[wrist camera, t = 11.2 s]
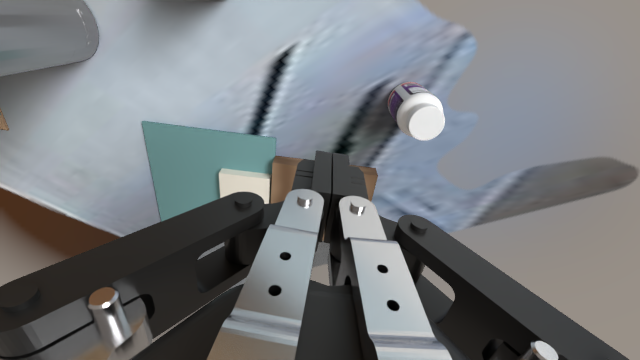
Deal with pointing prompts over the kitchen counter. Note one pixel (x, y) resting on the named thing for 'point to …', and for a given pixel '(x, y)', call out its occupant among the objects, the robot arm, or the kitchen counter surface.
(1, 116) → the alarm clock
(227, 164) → the mat
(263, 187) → the tile
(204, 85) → the kitchen counter surface
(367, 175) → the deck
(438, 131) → the pill bottle
